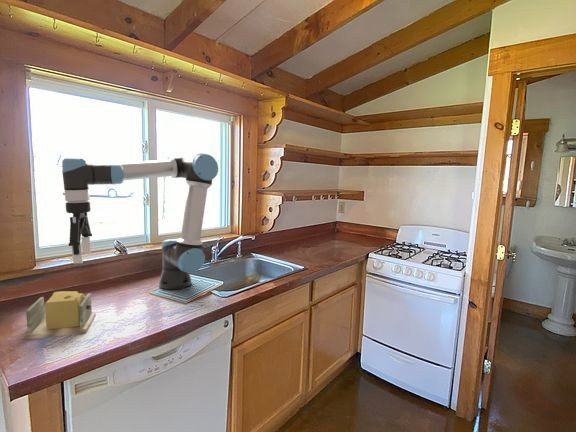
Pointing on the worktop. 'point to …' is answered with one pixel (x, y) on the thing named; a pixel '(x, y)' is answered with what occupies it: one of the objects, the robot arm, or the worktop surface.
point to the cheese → (63, 309)
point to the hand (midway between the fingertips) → (82, 258)
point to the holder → (39, 328)
